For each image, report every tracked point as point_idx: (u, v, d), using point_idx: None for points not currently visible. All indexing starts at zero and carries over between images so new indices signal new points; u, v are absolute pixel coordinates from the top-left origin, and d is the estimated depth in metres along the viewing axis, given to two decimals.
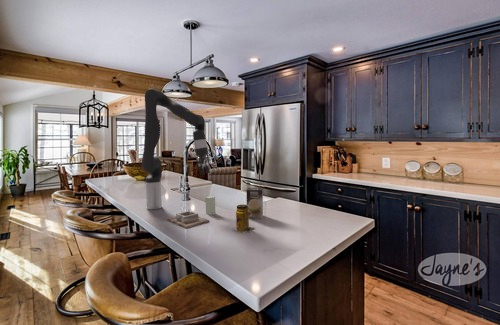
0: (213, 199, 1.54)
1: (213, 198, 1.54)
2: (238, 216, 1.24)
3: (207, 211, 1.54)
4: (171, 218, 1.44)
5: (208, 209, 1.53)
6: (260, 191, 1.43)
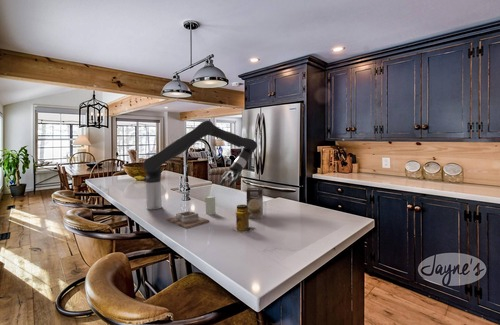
0: (213, 199, 1.54)
1: (213, 198, 1.54)
2: (238, 216, 1.24)
3: (207, 211, 1.54)
4: (171, 218, 1.44)
5: (208, 209, 1.53)
6: (260, 191, 1.43)
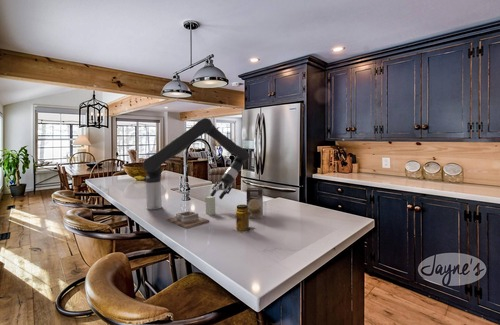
0: (213, 199, 1.54)
1: (213, 198, 1.54)
2: (238, 216, 1.24)
3: (207, 211, 1.54)
4: (171, 218, 1.44)
5: (208, 209, 1.53)
6: (260, 191, 1.43)
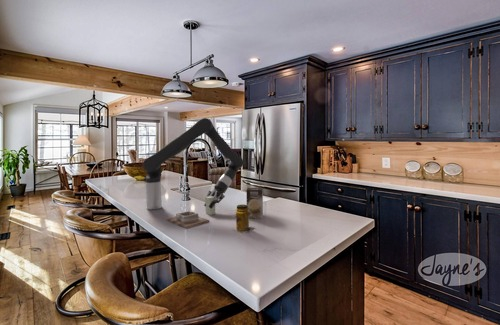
0: None
1: (213, 198, 1.54)
2: (238, 216, 1.24)
3: (207, 211, 1.54)
4: (171, 218, 1.44)
5: (208, 209, 1.53)
6: (260, 191, 1.43)
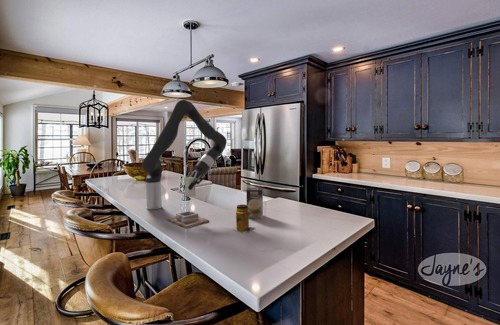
0: None
1: (193, 179, 1.41)
2: (238, 216, 1.24)
3: (186, 193, 1.41)
4: (171, 218, 1.44)
5: (187, 191, 1.41)
6: (260, 191, 1.43)
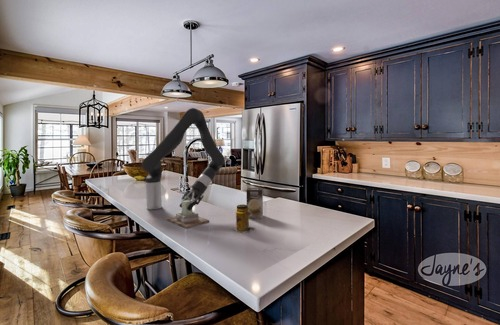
0: None
1: (190, 202, 1.40)
2: (238, 216, 1.24)
3: None
4: (171, 218, 1.44)
5: (184, 214, 1.40)
6: (260, 191, 1.43)
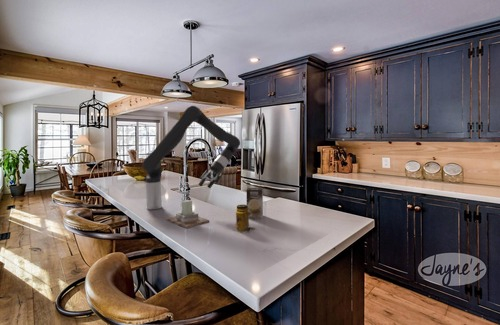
0: (190, 203, 1.40)
1: (190, 202, 1.40)
2: (238, 216, 1.24)
3: None
4: (171, 218, 1.44)
5: (184, 214, 1.40)
6: (260, 191, 1.43)
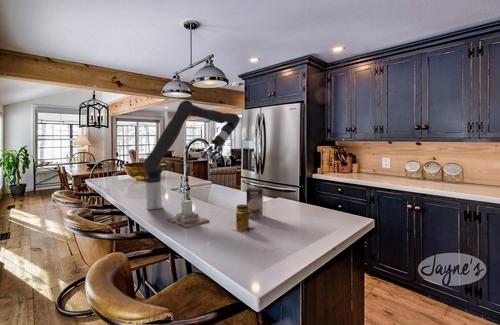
0: (190, 203, 1.40)
1: (190, 202, 1.40)
2: (238, 216, 1.24)
3: None
4: (171, 218, 1.44)
5: (184, 214, 1.40)
6: (260, 191, 1.43)
